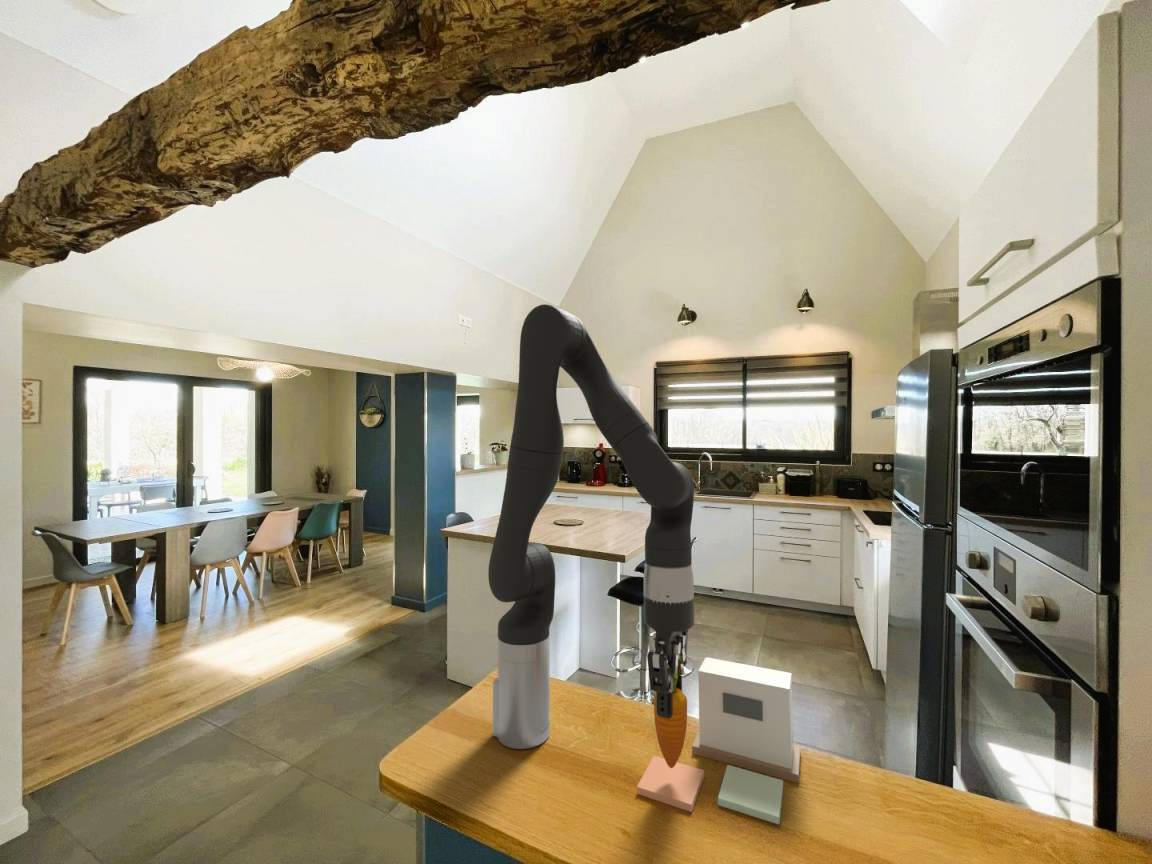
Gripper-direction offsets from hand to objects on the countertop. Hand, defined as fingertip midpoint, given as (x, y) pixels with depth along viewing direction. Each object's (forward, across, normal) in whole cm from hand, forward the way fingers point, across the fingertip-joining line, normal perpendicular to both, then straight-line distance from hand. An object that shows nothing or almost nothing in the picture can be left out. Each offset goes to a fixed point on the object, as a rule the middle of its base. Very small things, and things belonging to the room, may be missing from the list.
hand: (669, 706), depth 72 cm
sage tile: (+11, +3, -11) cm, 16 cm away
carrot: (+9, 0, 0) cm, 9 cm away
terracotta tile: (+11, 0, 0) cm, 11 cm away
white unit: (+11, +13, -9) cm, 20 cm away
